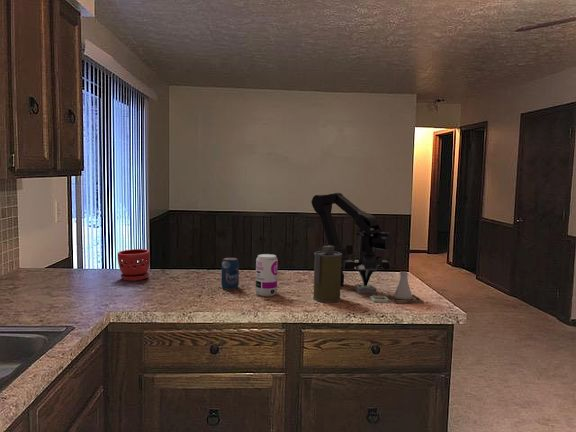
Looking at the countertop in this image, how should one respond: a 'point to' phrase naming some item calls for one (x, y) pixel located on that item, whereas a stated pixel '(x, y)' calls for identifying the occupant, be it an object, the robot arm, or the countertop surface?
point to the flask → (403, 288)
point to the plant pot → (134, 264)
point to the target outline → (407, 300)
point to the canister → (327, 275)
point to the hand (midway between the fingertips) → (365, 285)
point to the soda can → (230, 273)
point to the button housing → (365, 289)
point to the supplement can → (266, 274)
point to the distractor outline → (379, 300)
